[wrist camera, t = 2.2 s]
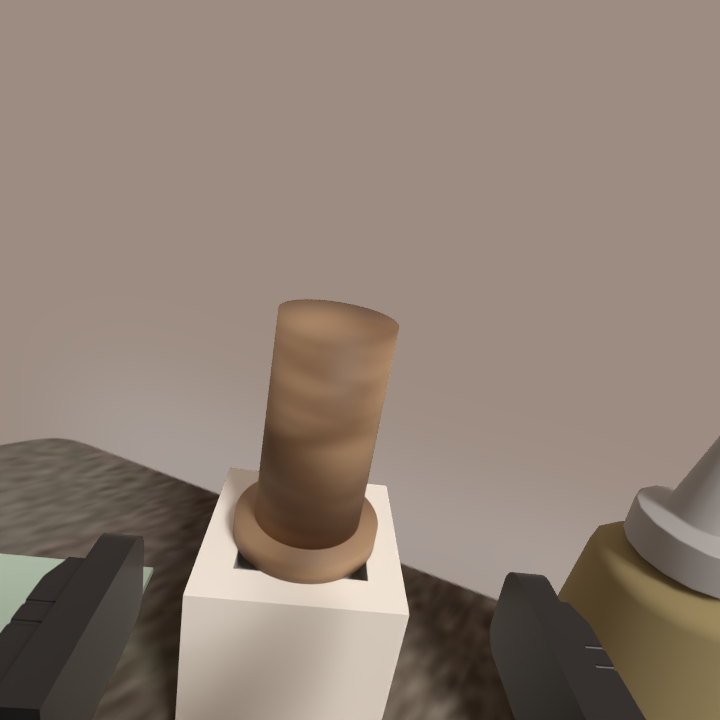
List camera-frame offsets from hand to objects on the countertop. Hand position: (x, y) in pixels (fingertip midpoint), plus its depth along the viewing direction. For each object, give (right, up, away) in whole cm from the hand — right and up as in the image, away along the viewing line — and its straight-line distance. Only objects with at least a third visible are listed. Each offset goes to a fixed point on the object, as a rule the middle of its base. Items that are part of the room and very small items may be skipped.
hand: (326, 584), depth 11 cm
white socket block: (-3, -11, +15) cm, 19 cm away
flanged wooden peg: (-2, -4, +13) cm, 14 cm away
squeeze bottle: (+11, -15, +12) cm, 22 cm away
